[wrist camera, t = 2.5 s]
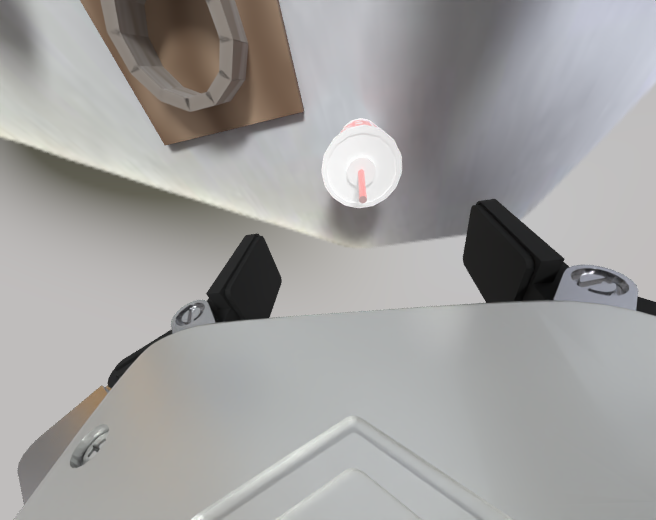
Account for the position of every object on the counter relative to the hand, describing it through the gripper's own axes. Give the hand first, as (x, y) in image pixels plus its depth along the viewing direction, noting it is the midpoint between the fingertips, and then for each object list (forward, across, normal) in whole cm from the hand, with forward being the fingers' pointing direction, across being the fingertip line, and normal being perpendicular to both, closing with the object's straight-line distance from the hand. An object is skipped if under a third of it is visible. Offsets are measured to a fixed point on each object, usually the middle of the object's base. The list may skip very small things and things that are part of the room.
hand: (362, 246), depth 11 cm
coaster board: (+18, +13, -12) cm, 25 cm away
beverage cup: (+18, 0, -1) cm, 19 cm away
